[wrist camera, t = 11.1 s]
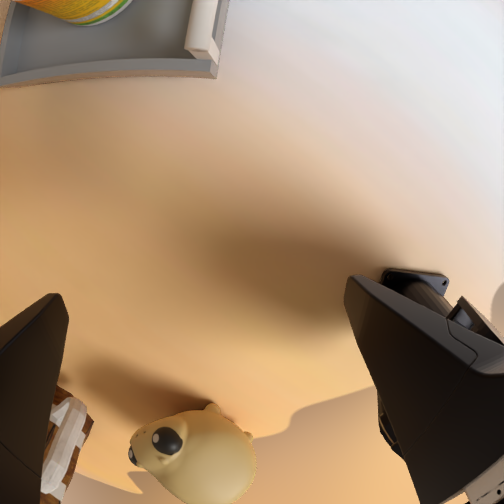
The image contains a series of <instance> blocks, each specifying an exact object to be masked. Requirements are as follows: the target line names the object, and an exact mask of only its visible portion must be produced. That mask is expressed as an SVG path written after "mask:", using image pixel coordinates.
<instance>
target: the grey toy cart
mask: <svg viewBox="0 0 504 504" xmlns="http://www.w3.org/2000/svg"><path fill="white" fill-rule="evenodd" d="M229 1H230V0H132V2H131V3H130V4H129V5H128V6H127V7H126V8H125V9H124V10H123V11H121V12H120V13H119V14H118V15H116V16H114V17H113V18H111V19H109V20H107V21H105V22H103V23H100V24H97V25H93V26H77V25H74V24H71V23H69V22H67V21H64V20H62V19H60V18H58V17H55V16H53V15H50V14H48V13H45V12H43V11H40V10H37V9H35V8H32V7H30V6H27V5H24V4H21V3H18V2H15V1H12V0H11V3H10V6H9V10H8V14H7V18H6V22H5V26H4V30H3V35H2V39H1V44H0V88H2V87H25V86H31V85H37V84H44V83H51V82H59V81H68V80H78V79H89V78H104V77H128V76H169V77H193V78H209V79H217V72H218V66H219V59H220V53H221V47H222V41H223V35H224V29H225V23H226V18H227V12H228V7H229Z"/></svg>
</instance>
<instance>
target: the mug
mask: <svg viewBox="0 0 504 504" xmlns="http://www.w3.org/2000/svg"><path fill="white" fill-rule="evenodd" d="M93 422H94V421H93V420H92V419H91V417H90V416H89V415H88V414H87V407H86V406H85V404H84V403H83V402H82V401H80V400H79V399H77V398H74V397H73V395H72V394H71V393H69V392H67V391H65V390H64V389H62V388H60V387H59V386H57V385H56V390H55V394H54V399H53V404H52V409H51V414H50V420H49V425H48V432H47V438H46V445H45V452H44V460H43V469H42V478H41V480H42V481H41V494H40V504H61V502H62V499H63V497H64V493H65V492H66V490H67V487H68V485H69V483H70V481H71V479H72V477H73V473H74V471H75V467H76V463H77V459H78V456H79V453H80V450H81V448H82V446H83V444H84V443H85V441H86V439H87V437H88V436H89V433H90V430H91V428H92V425H93Z"/></svg>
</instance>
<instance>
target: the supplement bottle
mask: <svg viewBox="0 0 504 504" xmlns="http://www.w3.org/2000/svg"><path fill="white" fill-rule="evenodd" d="M12 1H15V2H18V3H21V4H24V5H27V6H30V7H32V8H35V9H37V10H40V11H43V12H45V13H48V14H50V15H53V16H55V17H58V18H60V19H62V20H64V21H67V22H69V23H71V24H74V25H77V26H93V25H97V24H100V23H103V22H105V21H107V20H109V19H111V18H113V17H114V16H116V15H118V14H119V13H120V12H121V11H123V10H124V9H125V8H126V7H127V6H128V5H129V4H130V3H131V2H132V0H12Z"/></svg>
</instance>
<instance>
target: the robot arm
mask: <svg viewBox="0 0 504 504" xmlns="http://www.w3.org/2000/svg"><path fill="white" fill-rule="evenodd" d="M389 274H391V276H390V277H388V278H387V276H388V275H389ZM443 281H444V283H442V282H443ZM448 284H449V279H448V278H447V277H446V276H444V275H436V274H428V273H421V272H413V271H405V270H397V269H387V270H385V271H384V273H383V275H382V278H381V281H380V284H379V283H377V282H375V281H373V280H371V279H369V278H367V277H365V276H363V275H352V276H349V277H348V280H347V284H346V289H345V294H344V305H345V308H346V311H347V314H348V317H349V320H350V324H351V327H352V330H353V333H354V336H355V339H356V342H357V345H358V347H359V349H360V352H361V354H362V356H363V359H364V361H365V363H366V365H367V368H368V370H369V372H370V375H371V377H372V379H373V382H374V384H375V386H376V389H377V395H378V420H379V427H380V432H381V434H382V435H383V437H384V439H385V440H386V442H387V443H388V444H389V445H390V446H391V449H392V450H393V451H394V452H395V453H396V454H398V455H399V456H400V457H401V458H402V459H403V460H404V461H405V462H406V465H407V467H408V470H409V473H410V476H411V478H412V481H413V484H414V487H415V489H416V493H417V495H418V498H419V501H420V504H444V503H446V502H447V501H449V500H451V499H453V498H455V497H456V496H458V495H460V494H462V493H463V492H465V493H466V495H467V497H468V499H469V501H468V502H467V503H465V504H504V337H503V336H502V335H501V334H500V333H499V331H498V330H497V329H496V328H495V327H494V326H493V325H492V324H491V323H490V322H489V321H488V320H487V319H486V318H485V317H484V316H483V315H482V314H481V313H480V312H479V311H478V310H477V309H476V308H475V307H474V306H473V305H472V304H471V303H470V302H468V301H467V300H466V299H465V298H464V297H463V296H461V297H460V299H459V300H458V301H457V304H456V306H455V307H454V308H453V307H452V306H451V305H450V304H449V302H448V301H447V300H446V299H445V298H444V297H443V296H444V294H445V292H446V289H447V287H448ZM68 323H69V315H68V312H67V309H66V307H65V304H64V301H63V299H62V296H61V295H60V294H59V293H49V294H47V295H45V296H44V297H42V298H41V299H39V300H38V301H36V302H35V303H34V304H32V305H31V306H29V307H28V308H26V309H25V310H24V311H22V312H21V313H19V314H18V315H16V316H15V317H14V318H12V319H11V320H9V321H8V322H7V323H5V324H4V325H3V326H1V327H0V504H40V494H41V481H42V480H41V478H42V469H43V460H44V452H45V445H46V438H47V432H48V425H49V420H50V414H51V409H52V404H53V399H54V394H55V390H56V385H57V381H58V376H59V372H60V368H61V364H62V359H63V353H64V346H65V340H66V334H67V329H68Z"/></svg>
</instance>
